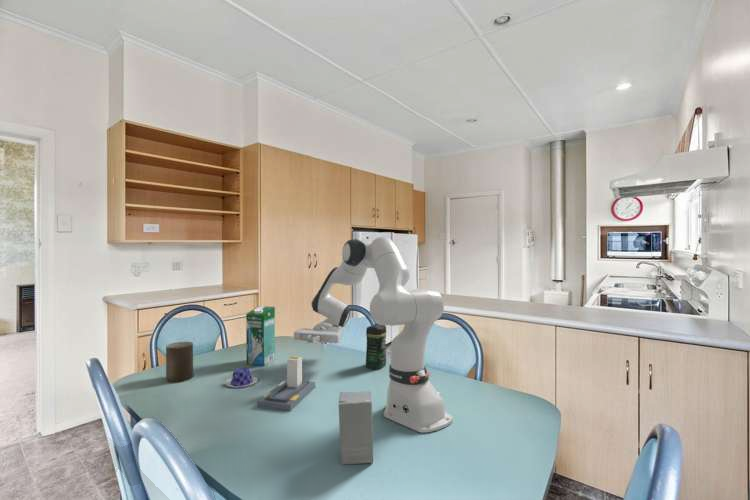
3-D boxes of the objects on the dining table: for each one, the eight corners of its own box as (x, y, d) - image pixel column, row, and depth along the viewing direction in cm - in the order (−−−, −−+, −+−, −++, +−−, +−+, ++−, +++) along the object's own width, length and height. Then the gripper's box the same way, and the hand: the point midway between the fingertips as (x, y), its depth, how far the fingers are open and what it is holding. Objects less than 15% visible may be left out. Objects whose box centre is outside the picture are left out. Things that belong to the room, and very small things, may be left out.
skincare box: (372, 449, 94) (372, 389, 94) (373, 466, 87) (373, 401, 87) (340, 450, 94) (340, 390, 94) (338, 467, 87) (338, 402, 87)
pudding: (218, 387, 136) (218, 373, 136) (238, 376, 148) (238, 363, 148) (245, 390, 133) (245, 376, 133) (263, 379, 144) (263, 366, 144)
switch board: (286, 384, 138) (286, 377, 138) (315, 387, 136) (315, 379, 136) (257, 406, 119) (257, 398, 119) (290, 410, 116) (290, 402, 116)
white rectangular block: (292, 382, 135) (292, 355, 134) (302, 383, 134) (301, 355, 133) (287, 386, 131) (287, 358, 130) (297, 387, 130) (297, 359, 130)
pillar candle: (192, 380, 142) (192, 342, 142) (163, 384, 138) (163, 345, 138) (194, 372, 151) (194, 337, 151) (168, 375, 147) (168, 339, 147)
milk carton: (246, 364, 162) (246, 308, 161) (258, 358, 170) (258, 305, 170) (263, 366, 159) (263, 309, 159) (275, 360, 168) (274, 306, 167)
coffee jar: (379, 371, 153) (379, 327, 153) (363, 368, 157) (363, 325, 156) (388, 364, 162) (388, 323, 162) (373, 361, 165) (373, 321, 165)
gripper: (301, 323, 162) (286, 331, 148) (344, 326, 157) (333, 334, 143) (301, 337, 162) (286, 346, 148) (344, 341, 157) (333, 350, 144)
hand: (310, 340), depth 146 cm, fingers closed
